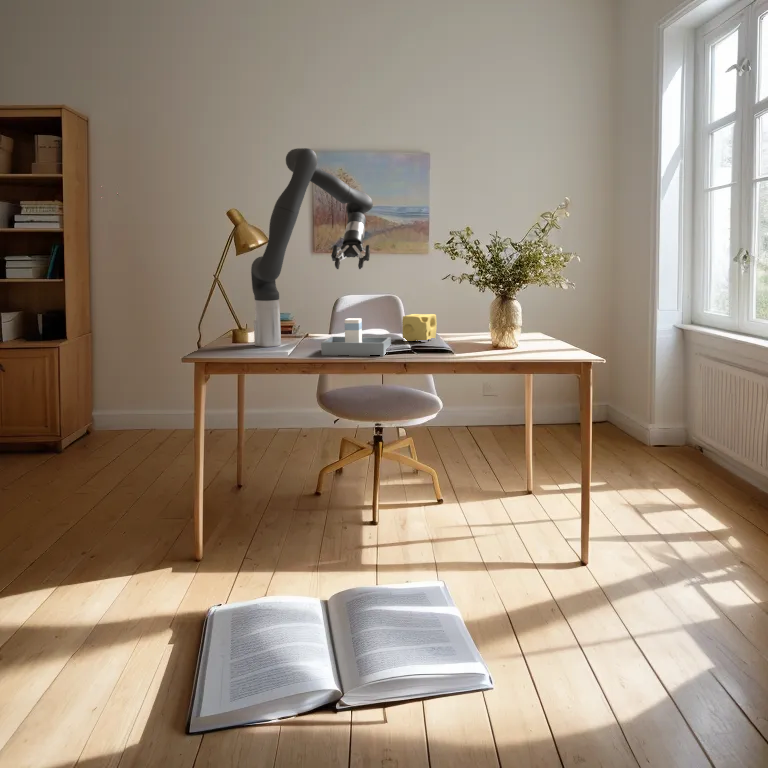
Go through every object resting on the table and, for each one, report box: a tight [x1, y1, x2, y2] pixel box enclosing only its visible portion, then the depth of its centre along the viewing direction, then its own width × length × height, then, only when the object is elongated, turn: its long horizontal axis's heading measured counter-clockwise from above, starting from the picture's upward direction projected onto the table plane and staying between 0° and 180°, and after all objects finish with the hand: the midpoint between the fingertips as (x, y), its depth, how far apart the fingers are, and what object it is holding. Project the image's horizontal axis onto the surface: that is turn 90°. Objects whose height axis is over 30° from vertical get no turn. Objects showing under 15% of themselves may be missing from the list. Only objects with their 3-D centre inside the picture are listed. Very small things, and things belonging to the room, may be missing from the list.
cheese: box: [401, 313, 438, 342], centre depth 317 cm, size 10×11×10 cm
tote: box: [320, 336, 392, 357], centre depth 290 cm, size 22×15×4 cm
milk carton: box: [344, 317, 363, 343], centre depth 290 cm, size 5×5×11 cm
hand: (348, 267), depth 306 cm, fingers open, 8 cm apart
